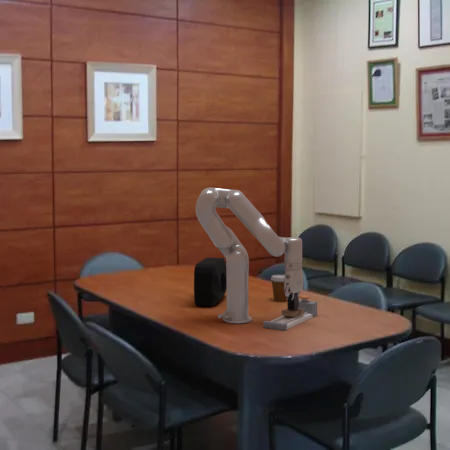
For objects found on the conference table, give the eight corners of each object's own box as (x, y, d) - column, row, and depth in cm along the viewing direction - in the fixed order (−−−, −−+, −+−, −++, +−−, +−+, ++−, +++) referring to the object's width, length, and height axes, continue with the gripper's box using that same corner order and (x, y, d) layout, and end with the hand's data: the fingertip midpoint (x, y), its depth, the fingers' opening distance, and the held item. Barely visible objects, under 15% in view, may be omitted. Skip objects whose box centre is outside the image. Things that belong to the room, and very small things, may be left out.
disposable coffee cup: (274, 303, 344) (274, 278, 343) (268, 298, 353) (268, 275, 352) (292, 301, 347) (293, 277, 345) (286, 297, 356) (286, 274, 354)
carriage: (296, 317, 304) (296, 296, 303) (281, 315, 308) (281, 294, 307) (304, 313, 311) (304, 293, 310) (289, 311, 315) (289, 291, 314)
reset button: (307, 302, 316) (307, 297, 316) (298, 301, 319) (298, 296, 318) (311, 300, 320) (311, 295, 320) (302, 299, 322) (302, 294, 322)
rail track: (284, 330, 292) (284, 316, 292) (263, 327, 298) (263, 313, 297) (317, 314, 320) (317, 301, 319) (297, 312, 325) (297, 299, 324)
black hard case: (208, 294, 364) (207, 255, 362) (231, 295, 362) (231, 256, 359) (193, 307, 335) (193, 265, 332) (219, 308, 332) (218, 266, 330)
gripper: (292, 269, 298) (292, 312, 301) (309, 264, 312) (309, 305, 314) (276, 268, 302) (276, 310, 304) (294, 262, 316) (293, 303, 318)
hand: (293, 307), depth 309 cm, fingers closed on carriage, 3 cm apart
